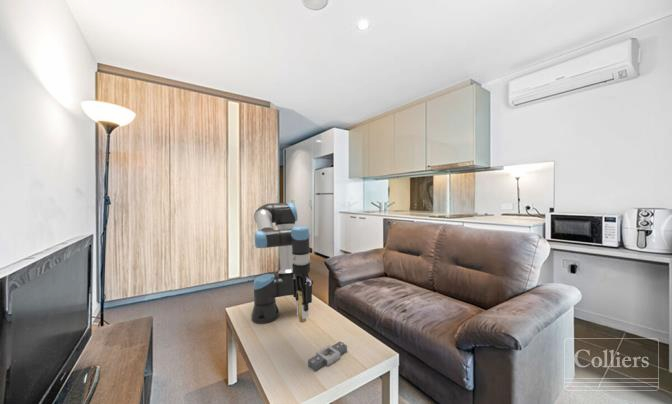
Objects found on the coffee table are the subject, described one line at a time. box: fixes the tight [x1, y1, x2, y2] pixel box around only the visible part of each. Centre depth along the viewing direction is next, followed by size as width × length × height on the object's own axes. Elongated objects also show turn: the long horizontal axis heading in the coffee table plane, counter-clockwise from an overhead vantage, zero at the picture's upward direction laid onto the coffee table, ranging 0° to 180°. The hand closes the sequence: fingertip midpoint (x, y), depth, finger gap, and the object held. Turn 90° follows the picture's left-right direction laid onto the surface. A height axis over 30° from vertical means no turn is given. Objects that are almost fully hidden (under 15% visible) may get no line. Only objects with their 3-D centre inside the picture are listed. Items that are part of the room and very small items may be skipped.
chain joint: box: [307, 341, 348, 372], centre depth 108 cm, size 18×7×3 cm, turn 133°
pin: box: [297, 289, 307, 324], centre depth 110 cm, size 4×4×14 cm
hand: (302, 316), depth 111 cm, fingers closed on pin, 3 cm apart
